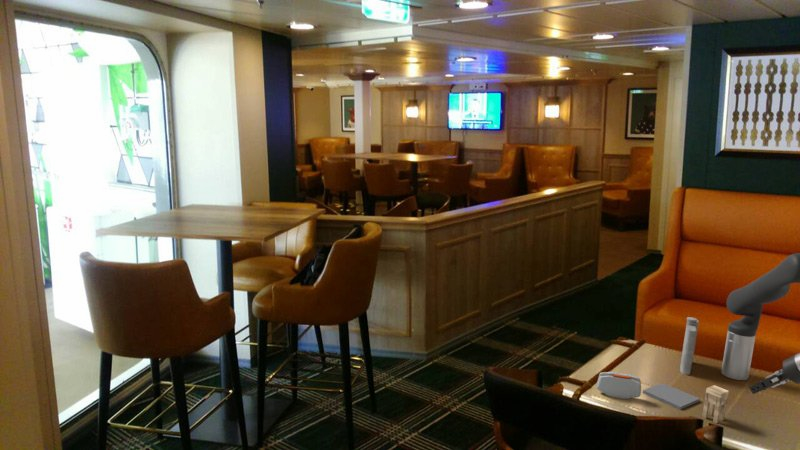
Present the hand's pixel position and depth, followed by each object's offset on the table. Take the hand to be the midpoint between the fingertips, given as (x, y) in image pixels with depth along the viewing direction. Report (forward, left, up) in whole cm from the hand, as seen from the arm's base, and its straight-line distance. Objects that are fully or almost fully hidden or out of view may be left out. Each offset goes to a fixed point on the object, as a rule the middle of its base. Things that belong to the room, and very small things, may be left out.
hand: (758, 387), depth 190 cm
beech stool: (0, -12, -16) cm, 20 cm away
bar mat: (-2, -28, -16) cm, 32 cm away
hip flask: (-32, -40, -16) cm, 53 cm away
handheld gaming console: (+14, -38, -16) cm, 43 cm away
